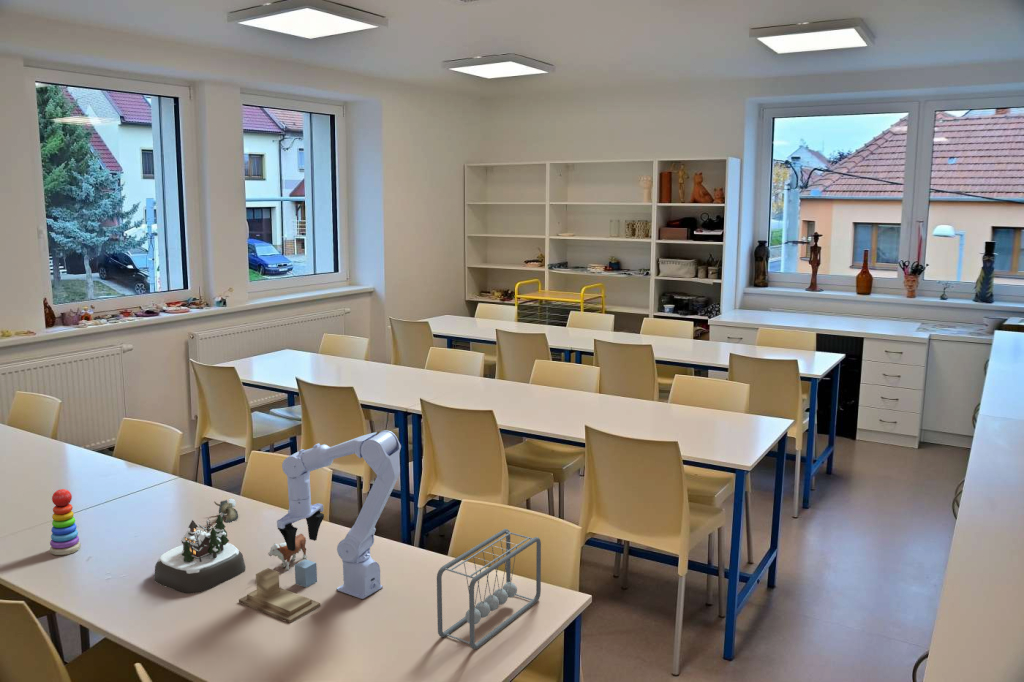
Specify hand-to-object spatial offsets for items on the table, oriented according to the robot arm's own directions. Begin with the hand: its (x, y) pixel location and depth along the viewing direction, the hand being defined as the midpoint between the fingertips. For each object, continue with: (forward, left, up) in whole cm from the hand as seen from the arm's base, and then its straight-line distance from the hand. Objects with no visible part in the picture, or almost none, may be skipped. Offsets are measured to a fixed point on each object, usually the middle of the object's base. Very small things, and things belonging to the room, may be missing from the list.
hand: (302, 544), depth 218 cm
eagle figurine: (+54, -17, -11) cm, 58 cm away
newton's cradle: (-54, -11, -11) cm, 56 cm away
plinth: (-5, +13, -10) cm, 17 cm away
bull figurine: (+10, -4, -11) cm, 15 cm away
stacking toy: (+73, +25, -11) cm, 78 cm away
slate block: (-2, +1, -10) cm, 10 cm away
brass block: (-1, +13, -8) cm, 15 cm away
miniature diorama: (+27, +13, -11) cm, 32 cm away
